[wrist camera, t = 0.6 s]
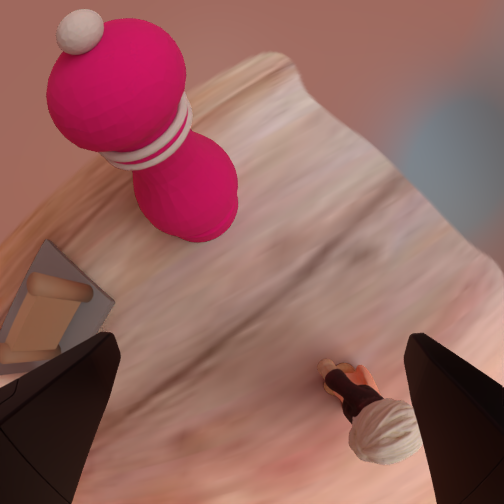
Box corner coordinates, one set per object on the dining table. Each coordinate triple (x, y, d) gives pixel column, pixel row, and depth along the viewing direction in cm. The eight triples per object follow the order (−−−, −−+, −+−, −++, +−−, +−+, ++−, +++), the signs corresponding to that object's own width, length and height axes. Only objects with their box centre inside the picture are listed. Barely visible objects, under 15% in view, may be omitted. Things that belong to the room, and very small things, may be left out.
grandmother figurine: (395, 390, 22) (479, 439, 10) (365, 428, 22) (425, 505, 9) (323, 336, 24) (364, 353, 11) (291, 375, 23) (300, 430, 11)
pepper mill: (262, 206, 26) (218, -21, 7) (196, 267, 26) (7, 143, 6) (206, 151, 28) (116, -47, 8) (144, 207, 27) (-20, 59, 8)
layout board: (49, 239, 28) (-4, 217, 20) (115, 301, 26) (60, 293, 18) (-21, 399, 25) (-67, 405, 17) (29, 463, 23) (-16, 482, 15)
